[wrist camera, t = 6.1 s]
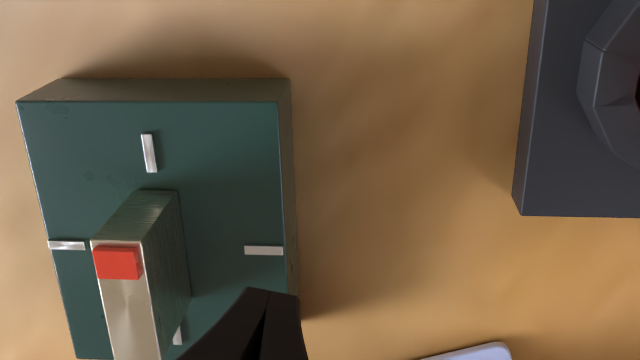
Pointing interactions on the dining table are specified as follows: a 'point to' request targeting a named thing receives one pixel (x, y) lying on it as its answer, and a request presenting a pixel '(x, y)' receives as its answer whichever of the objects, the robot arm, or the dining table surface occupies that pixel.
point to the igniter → (581, 111)
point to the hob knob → (143, 274)
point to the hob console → (167, 186)
